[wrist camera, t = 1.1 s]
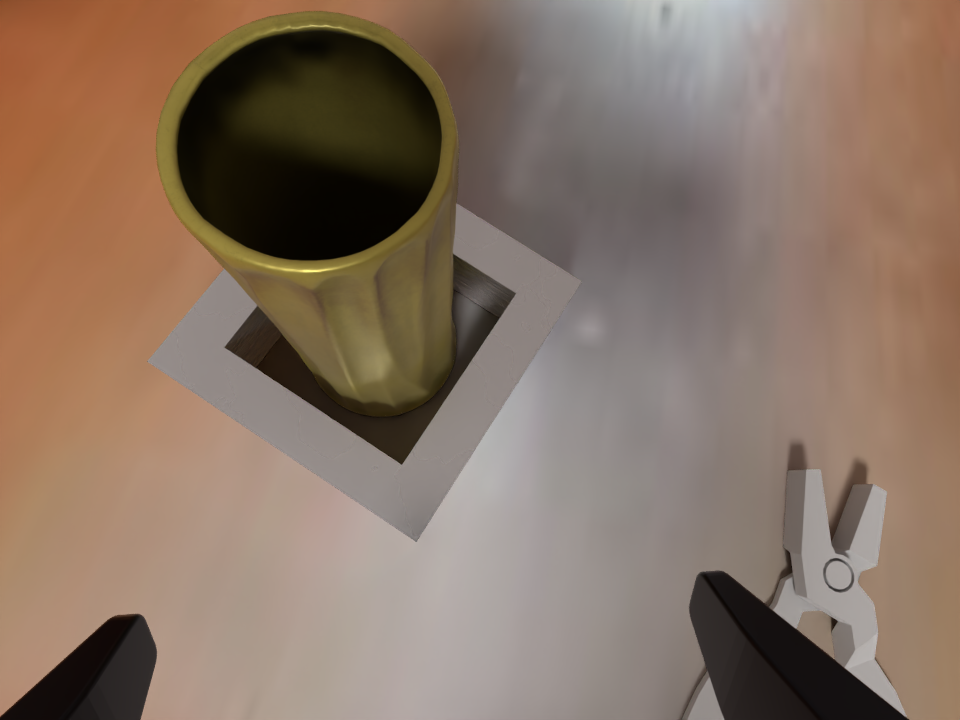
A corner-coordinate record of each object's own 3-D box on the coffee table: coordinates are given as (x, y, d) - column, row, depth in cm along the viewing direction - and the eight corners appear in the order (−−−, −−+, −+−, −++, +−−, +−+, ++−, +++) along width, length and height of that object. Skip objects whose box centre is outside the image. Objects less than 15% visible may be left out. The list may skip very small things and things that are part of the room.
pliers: (665, 881, 19) (729, 444, 23) (648, 852, 20) (710, 447, 24) (946, 954, 19) (965, 508, 23) (908, 919, 21) (932, 507, 24)
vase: (440, 264, 25) (445, -30, 11) (470, 400, 23) (521, 264, 10) (298, 290, 24) (108, 9, 10) (322, 432, 23) (142, 335, 9)
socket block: (419, 534, 22) (416, 541, 19) (190, 381, 23) (147, 361, 19) (561, 310, 25) (582, 281, 21) (352, 179, 25) (339, 130, 22)
